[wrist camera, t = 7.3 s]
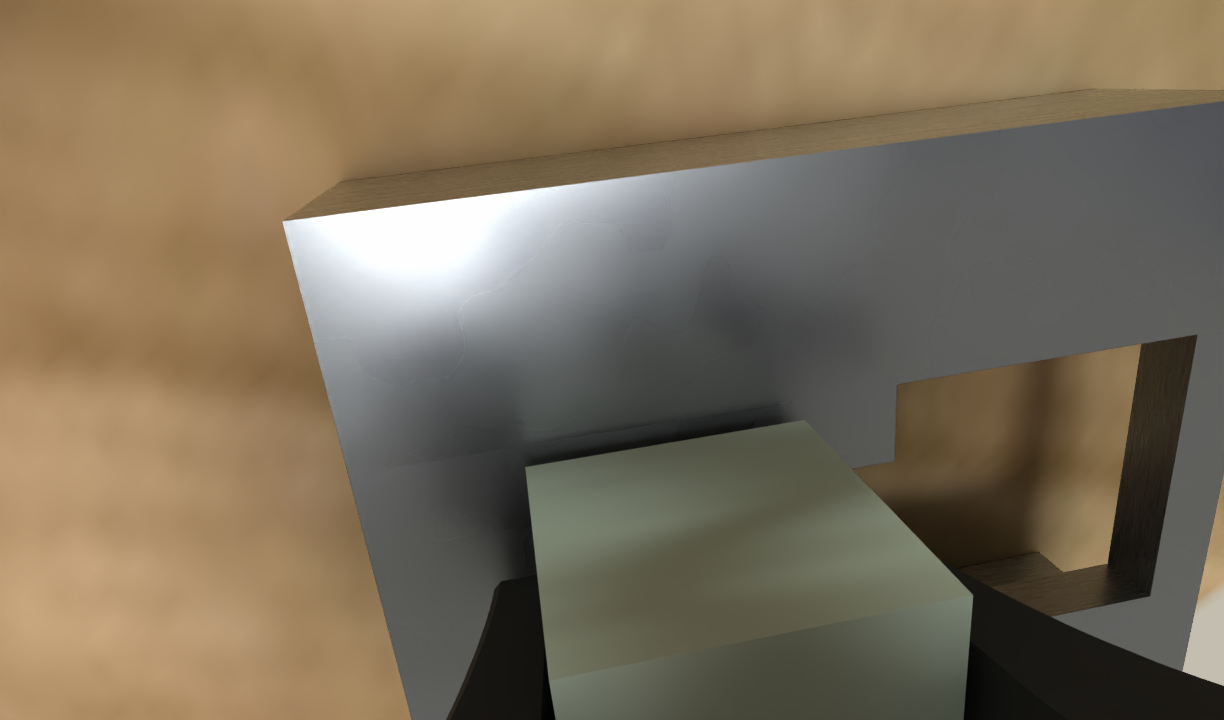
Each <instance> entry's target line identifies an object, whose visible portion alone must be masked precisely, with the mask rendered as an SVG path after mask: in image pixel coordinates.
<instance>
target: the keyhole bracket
mask: <svg viewBox="0 0 1224 720" xmlns="http://www.w3.org/2000/svg"><path fill="white" fill-rule="evenodd" d="M283 225H284V229H285V233H286V237H287V241H288V245H289V248H290V252H291V256H292V260H293V264H294V268H295V272H296V275H297V279H298V283H299V287H300V291H301V295H302V299H303V302H304V306H305V310H306V314H307V318H308V322H309V326H310V329H311V333H312V337H313V341H314V345H315V349H316V353H317V356H318V360H319V364H320V368H321V372H322V376H323V380H324V383H325V387H326V391H327V395H328V399H329V403H330V407H331V410H332V414H333V418H334V422H335V426H336V430H337V434H338V437H339V441H340V445H341V449H342V453H343V457H344V461H345V464H346V468H347V472H348V476H349V480H350V484H351V488H352V491H353V495H354V499H355V503H356V507H357V511H358V515H359V518H360V522H361V526H362V530H363V534H364V538H365V542H366V545H367V549H368V553H369V557H370V561H371V565H372V569H373V572H374V576H375V580H376V584H377V588H378V592H379V595H380V599H381V603H382V607H383V611H384V615H385V619H386V622H387V626H388V630H389V634H390V638H391V642H392V646H393V649H394V653H395V657H396V661H397V665H398V669H399V673H400V676H401V680H402V684H403V688H404V692H405V696H406V700H407V703H408V707H409V711H410V715H411V719H412V720H446V719H447V717H448V714H449V712H450V710H451V708H452V706H453V704H454V702H455V700H456V698H457V695H458V693H459V691H460V688H461V686H462V683H463V681H464V678H465V676H466V674H467V671H468V669H469V666H470V664H471V661H472V659H473V657H474V654H475V652H476V649H477V646H478V643H479V640H480V638H481V635H482V632H483V629H484V626H485V623H486V620H487V617H488V613H489V610H490V606H491V602H492V598H493V593H494V589H495V588H496V587H497V586H498V584H499V583H500V582H501V581H505V580H510V579H516V578H521V577H527V576H532V575H537V568H536V559H535V550H534V541H533V532H532V523H531V514H530V505H529V496H528V487H527V478H526V469H525V467H529V466H535V465H541V464H547V463H553V462H559V461H565V460H571V459H577V458H583V457H588V456H594V455H600V454H606V453H612V452H618V451H624V450H630V449H636V448H642V447H648V446H654V445H659V444H665V443H671V442H677V441H683V440H689V439H695V438H701V437H707V436H713V435H719V434H724V433H730V432H736V431H742V430H748V429H754V428H760V427H766V426H772V425H778V424H784V423H789V422H795V421H801V420H805V421H806V422H807V423H808V424H809V425H810V426H811V427H812V428H813V429H814V430H815V431H816V432H817V433H818V434H819V435H820V436H821V437H822V438H823V439H824V440H825V441H826V443H827V444H828V445H829V446H830V447H831V448H832V449H833V450H834V451H835V452H836V453H837V454H838V455H839V456H840V457H841V458H842V459H843V460H844V461H845V462H846V463H847V464H848V465H849V466H850V467H851V469H854V468H859V467H865V466H871V465H876V464H882V463H888V462H893V461H894V458H895V427H896V396H897V384H902V383H908V382H914V381H920V380H926V379H932V378H938V377H944V376H950V375H956V374H962V373H968V372H974V371H980V370H986V369H992V368H998V367H1004V366H1010V365H1016V364H1022V363H1028V362H1034V361H1040V360H1047V359H1053V358H1059V357H1065V356H1071V355H1077V354H1083V353H1089V352H1095V351H1101V350H1107V349H1113V348H1119V347H1125V346H1131V345H1137V344H1142V345H1141V351H1140V358H1139V364H1138V371H1137V377H1136V384H1135V390H1134V397H1133V403H1132V410H1131V416H1130V422H1129V429H1128V435H1127V442H1126V448H1125V455H1124V461H1123V468H1122V474H1121V481H1120V487H1119V494H1118V500H1117V507H1116V513H1115V520H1114V526H1113V533H1112V539H1111V546H1110V552H1109V559H1108V564H1104V565H1099V566H1094V567H1089V568H1084V569H1079V570H1074V571H1069V572H1064V573H1063V572H1062V571H1061V570H1060V569H1059V568H1057V567H1056V566H1055V565H1054V564H1053V563H1051V562H1050V561H1049V560H1048V559H1047V558H1045V557H1044V556H1043V555H1042V554H1041V553H1040V552H1038V553H1033V554H1028V555H1023V556H1018V557H1013V558H1007V559H1002V560H997V561H992V562H987V563H982V564H977V565H972V566H967V567H962V568H957V569H958V570H960V571H962V572H963V573H965V574H967V575H969V576H971V577H973V578H975V579H976V580H978V581H980V582H982V583H984V584H986V585H988V586H990V587H992V588H994V589H995V590H997V591H999V592H1001V593H1003V594H1005V595H1007V596H1009V597H1011V598H1013V599H1015V600H1017V601H1019V602H1021V603H1023V604H1025V605H1027V606H1029V607H1031V608H1034V609H1036V610H1038V611H1040V612H1042V613H1044V614H1046V615H1048V616H1050V617H1052V618H1055V619H1057V620H1059V621H1061V622H1063V623H1065V624H1067V625H1069V626H1071V627H1074V628H1076V629H1078V630H1080V631H1083V632H1085V633H1087V634H1090V635H1092V636H1094V637H1096V638H1099V639H1101V640H1103V641H1106V642H1108V643H1111V644H1113V645H1116V646H1118V647H1121V648H1123V649H1126V650H1128V651H1131V652H1133V653H1136V654H1138V655H1141V656H1143V657H1146V658H1148V659H1150V660H1153V661H1155V662H1158V663H1160V664H1163V665H1166V666H1168V667H1171V668H1174V669H1177V670H1179V671H1182V670H1183V666H1184V661H1185V656H1186V651H1187V646H1188V642H1189V637H1190V632H1191V627H1192V623H1193V618H1194V613H1195V608H1196V603H1197V599H1198V594H1199V589H1200V584H1201V579H1202V575H1203V570H1204V565H1205V560H1206V555H1207V551H1208V546H1209V541H1210V536H1211V531H1212V527H1213V522H1214V517H1215V512H1216V507H1217V503H1218V498H1219V493H1220V488H1221V483H1222V479H1223V474H1224V90H1136V89H1090V90H1081V91H1073V92H1065V93H1057V94H1049V95H1041V96H1033V97H1025V98H1016V99H1008V100H1000V101H992V102H984V103H976V104H968V105H960V106H952V107H943V108H935V109H927V110H919V111H911V112H903V113H895V114H887V115H879V116H870V117H862V118H854V119H846V120H838V121H830V122H822V123H814V124H806V125H797V126H789V127H781V128H773V129H765V130H757V131H749V132H741V133H732V134H724V135H716V136H708V137H700V138H692V139H684V140H676V141H668V142H659V143H651V144H643V145H635V146H627V147H619V148H611V149H603V150H595V151H586V152H578V153H570V154H562V155H554V156H546V157H538V158H530V159H522V160H513V161H505V162H497V163H489V164H481V165H473V166H465V167H457V168H449V169H440V170H432V171H424V172H416V173H408V174H400V175H392V176H384V177H375V178H367V179H359V180H351V181H343V182H339V183H338V184H336V185H335V186H333V187H332V188H331V189H329V190H328V191H326V192H325V193H323V194H322V195H320V196H319V197H317V198H316V199H315V200H313V201H312V202H310V203H309V204H307V205H306V206H304V207H303V208H301V209H300V210H298V211H297V212H296V213H294V214H293V215H291V216H290V217H288V218H287V219H285V220H284V221H283Z"/></svg>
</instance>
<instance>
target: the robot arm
mask: <svg viewBox="0 0 1224 720" xmlns="http://www.w3.org/2000/svg"><path fill="white" fill-rule="evenodd" d="M939 560H940V559H939ZM940 561H941V562H942V563H943V564H944V565H945V566H946V567H947V568H948V569H949V571H950V572H951V573H952V574H953V575H954V576H955V577H956V578H957V579H958V580H959V581H960V582H961V583H962V584H963V585H964V586H965V587H966V588H967V589H968V590H969V591H970V592H971V593H972V594H973V604H972V617H971V630H970V642H969V655H968V668H967V681H966V693H965V706H964V719H963V720H1224V686H1222V685H1219V684H1216V683H1213V682H1210V681H1207V680H1204V679H1201V678H1198V677H1196V676H1193V675H1190V674H1188V673H1185V672H1182V671H1179V670H1177V669H1174V668H1171V667H1168V666H1166V665H1163V664H1160V663H1158V662H1155V661H1153V660H1150V659H1148V658H1146V657H1143V656H1141V655H1138V654H1136V653H1133V652H1131V651H1128V650H1126V649H1123V648H1121V647H1118V646H1116V645H1113V644H1111V643H1108V642H1106V641H1103V640H1101V639H1099V638H1096V637H1094V636H1092V635H1090V634H1087V633H1085V632H1083V631H1080V630H1078V629H1076V628H1074V627H1071V626H1069V625H1067V624H1065V623H1063V622H1061V621H1059V620H1057V619H1055V618H1052V617H1050V616H1048V615H1046V614H1044V613H1042V612H1040V611H1038V610H1036V609H1034V608H1031V607H1029V606H1027V605H1025V604H1023V603H1021V602H1019V601H1017V600H1015V599H1013V598H1011V597H1009V596H1007V595H1005V594H1003V593H1001V592H999V591H997V590H995V589H994V588H992V587H990V586H988V585H986V584H984V583H982V582H980V581H978V580H976V579H975V578H973V577H971V576H969V575H967V574H965V573H963V572H962V571H960V570H958V569H956V568H954V567H952V566H951V565H949V564H947V563H945V562H943V561H942V560H940ZM446 720H556V719H555V713H554V707H553V701H552V695H551V689H550V684H549V676H548V667H547V658H546V649H545V640H544V631H543V622H542V613H541V604H540V595H539V586H538V577H537V575H532V576H527V577H521V578H516V579H510V580H505V581H501V582H500V583H499V584H498V586H497V587H496V588H495V589H494V593H493V598H492V602H491V606H490V610H489V613H488V617H487V620H486V623H485V626H484V629H483V632H482V635H481V638H480V640H479V643H478V646H477V649H476V652H475V654H474V657H473V659H472V661H471V664H470V666H469V669H468V671H467V674H466V676H465V678H464V681H463V683H462V686H461V688H460V691H459V693H458V695H457V698H456V700H455V702H454V704H453V706H452V708H451V710H450V712H449V714H448V717H447V719H446Z"/></svg>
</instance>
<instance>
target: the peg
mask: <svg viewBox="0 0 1224 720" xmlns="http://www.w3.org/2000/svg"><path fill="white" fill-rule="evenodd" d="M525 469H526V478H527V487H528V496H529V505H530V514H531V523H532V532H533V541H534V550H535V559H536V568H537V577H538V586H539V595H540V604H541V613H542V622H543V631H544V640H545V649H546V658H547V667H548V676H549V684H550V689H551V695H552V701H553V707H554V713H555V719H556V720H963V719H964V706H965V693H966V681H967V668H968V655H969V642H970V630H971V617H972V604H973V594H972V593H971V592H970V591H969V590H968V589H967V588H966V587H965V586H964V585H963V584H962V583H961V582H960V581H959V580H958V579H957V578H956V577H955V576H954V575H953V574H952V573H951V572H950V571H949V569H948V568H947V567H946V566H945V565H944V564H943V563H942V562H941V561H940V560H939V559H938V558H937V557H936V556H935V555H934V554H933V553H932V552H931V551H930V550H929V549H928V548H927V547H926V546H925V545H924V543H923V542H922V541H921V540H920V539H919V538H918V537H917V536H916V535H915V534H914V533H913V532H912V531H911V530H910V529H909V528H908V527H907V526H906V525H905V524H904V523H903V522H902V521H901V520H900V518H899V517H898V516H897V515H896V514H895V513H894V512H893V511H892V510H891V509H890V508H889V507H888V506H887V505H886V504H885V503H884V502H883V501H882V500H881V499H880V498H879V497H878V496H877V495H876V494H875V492H874V491H873V490H872V489H871V488H870V487H869V486H868V485H867V484H866V483H865V482H864V481H863V480H862V479H861V478H860V477H859V476H858V475H857V474H856V473H855V472H854V471H853V470H852V469H851V467H850V466H849V465H848V464H847V463H846V462H845V461H844V460H843V459H842V458H841V457H840V456H839V455H838V454H837V453H836V452H835V451H834V450H833V449H832V448H831V447H830V446H829V445H828V444H827V443H826V441H825V440H824V439H823V438H822V437H821V436H820V435H819V434H818V433H817V432H816V431H815V430H814V429H813V428H812V427H811V426H810V425H809V424H808V423H807V422H806V421H805V420H801V421H795V422H789V423H784V424H778V425H772V426H766V427H760V428H754V429H748V430H742V431H736V432H730V433H724V434H719V435H713V436H707V437H701V438H695V439H689V440H683V441H677V442H671V443H665V444H659V445H654V446H648V447H642V448H636V449H630V450H624V451H618V452H612V453H606V454H600V455H594V456H588V457H583V458H577V459H571V460H565V461H559V462H553V463H547V464H541V465H535V466H529V467H525Z"/></svg>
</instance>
